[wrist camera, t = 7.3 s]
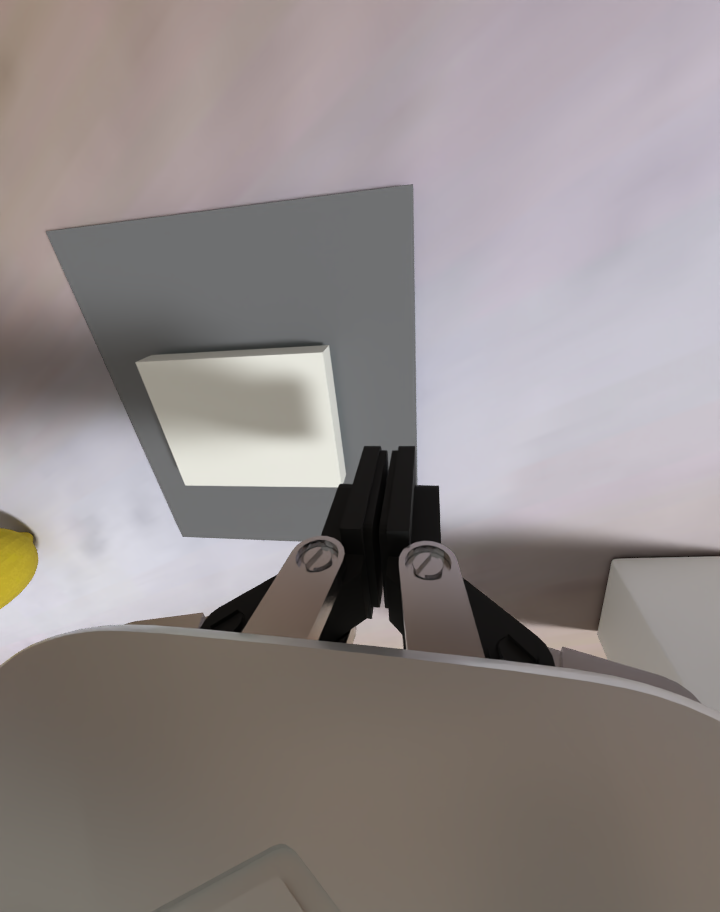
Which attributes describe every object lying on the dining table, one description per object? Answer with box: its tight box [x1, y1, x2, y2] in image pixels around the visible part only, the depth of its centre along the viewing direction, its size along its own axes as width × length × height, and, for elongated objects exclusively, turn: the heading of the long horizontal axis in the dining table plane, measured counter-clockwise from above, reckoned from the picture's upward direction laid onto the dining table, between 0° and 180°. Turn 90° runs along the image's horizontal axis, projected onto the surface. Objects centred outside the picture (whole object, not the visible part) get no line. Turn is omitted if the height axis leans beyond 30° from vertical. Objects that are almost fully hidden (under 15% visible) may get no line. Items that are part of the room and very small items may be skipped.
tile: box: [135, 345, 346, 487], centre depth 19 cm, size 7×2×9 cm
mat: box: [46, 184, 417, 541], centre depth 20 cm, size 18×16×1 cm
